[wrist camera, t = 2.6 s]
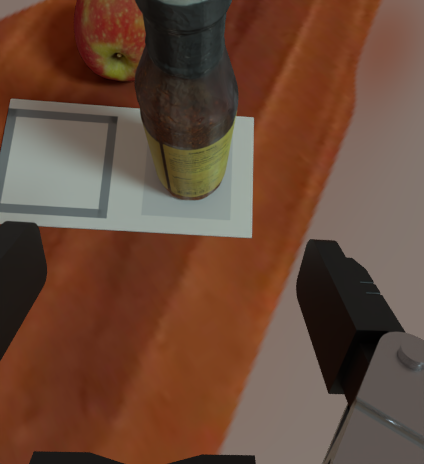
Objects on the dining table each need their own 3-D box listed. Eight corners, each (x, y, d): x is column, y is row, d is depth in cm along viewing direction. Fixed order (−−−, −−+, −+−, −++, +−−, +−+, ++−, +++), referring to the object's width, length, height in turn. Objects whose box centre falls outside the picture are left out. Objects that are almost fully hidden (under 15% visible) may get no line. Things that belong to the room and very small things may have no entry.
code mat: (-12, 223, 30) (-13, 222, 30) (11, 99, 33) (10, 98, 33) (251, 238, 32) (251, 237, 31) (253, 118, 34) (253, 117, 34)
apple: (83, 92, 34) (52, 27, 26) (92, 19, 36) (66, -62, 28) (166, 98, 34) (161, 35, 26) (171, 25, 36) (167, -53, 28)
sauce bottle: (236, 166, 33) (310, -39, 14) (196, 217, 32) (215, 70, 12) (181, 126, 33) (175, -127, 14) (139, 175, 32) (69, -31, 13)
